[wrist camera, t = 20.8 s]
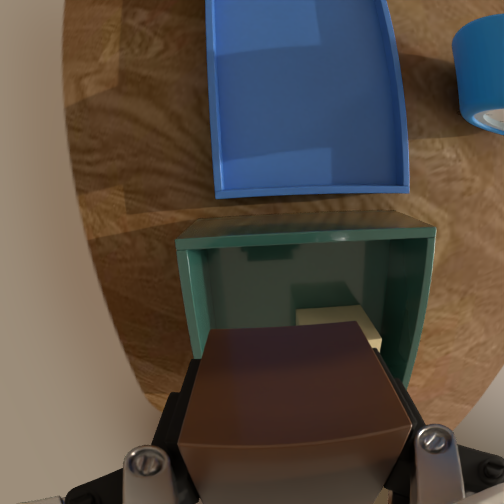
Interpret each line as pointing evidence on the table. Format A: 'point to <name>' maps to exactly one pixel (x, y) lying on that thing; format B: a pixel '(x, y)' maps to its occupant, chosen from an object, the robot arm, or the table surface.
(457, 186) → the table surface
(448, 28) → the table surface
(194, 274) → the green storage bin
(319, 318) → the cream block
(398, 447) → the walnut block
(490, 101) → the alarm clock
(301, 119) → the blue shallow tray
